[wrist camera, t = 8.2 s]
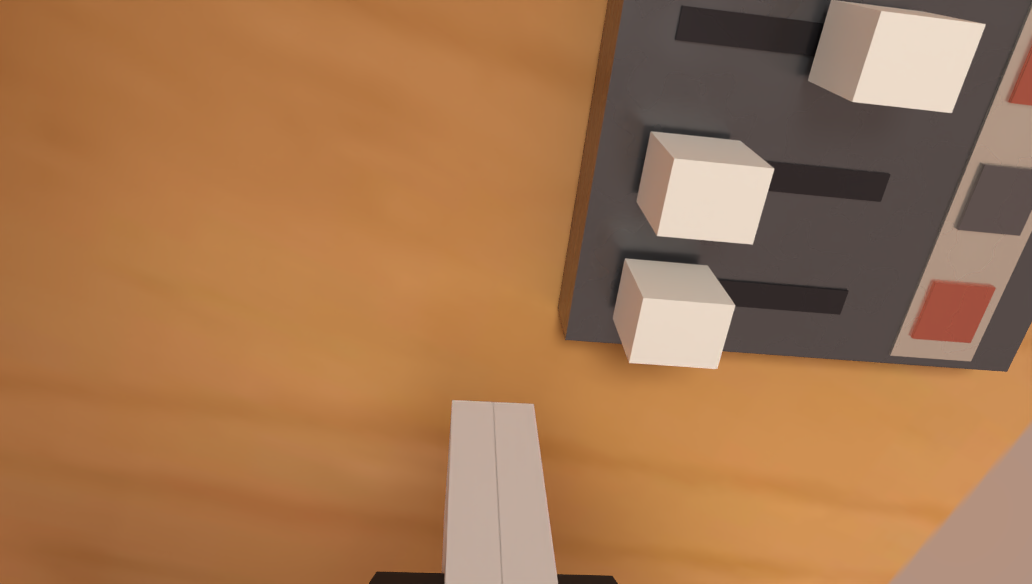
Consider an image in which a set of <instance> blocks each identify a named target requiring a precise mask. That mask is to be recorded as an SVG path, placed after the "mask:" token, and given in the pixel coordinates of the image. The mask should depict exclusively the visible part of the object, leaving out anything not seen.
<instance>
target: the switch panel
mask: <svg viewBox="0 0 1032 584" xmlns="http://www.w3.org/2000/svg"><path fill="white" fill-rule="evenodd" d="M837 1H845V2H853V3H861V4H869V5H876V6H884V7H892V8H900V9H908V10H915V11H923V12H928V13H933V14H938V15H943V16H948V17H953V18H958V19H963V20H968V21H973V22H977V23H982V24H986V25H985V28H984V31H983V33H982V36H981V38H980V41H979V44H978V46H977V49H976V51H975V54H974V57H973V59H972V62H971V64H970V67H969V70H968V72H967V75H966V77H965V80H964V83H963V85H962V88H961V90H960V93H959V96H958V98H957V101H956V104H955V106H954V109H953V111H952V113H946V112H938V111H929V110H920V109H911V108H902V107H893V106H884V105H875V104H866V103H857V102H851V101H849V100H847V99H845V98H843V97H841V96H839V95H837V94H835V93H832V92H830V91H828V90H826V89H824V88H822V87H820V86H818V85H816V84H814V83H811V82H809V81H808V78H809V74H810V71H811V68H812V64H813V61H814V57H815V54H816V50H817V47H818V43H819V40H820V37H821V33H822V30H823V26H824V23H825V19H826V16H827V12H828V9H829V6H830V2H831V0H608V4H607V10H606V16H605V23H604V29H603V35H602V41H601V47H600V53H599V59H598V65H597V72H596V78H595V84H594V90H593V96H592V102H591V108H590V114H589V121H588V127H587V133H586V139H585V145H584V151H583V157H582V163H581V170H580V176H579V182H578V188H577V194H576V200H575V206H574V212H573V218H572V225H571V231H570V237H569V243H568V249H567V255H566V261H565V267H564V274H563V280H562V286H561V292H560V298H559V304H558V311H559V315H560V319H561V324H562V328H563V332H564V336H565V340H575V341H589V342H603V343H617V344H622V342H621V340H620V337H619V334H618V331H617V329H616V326H615V323H614V321H613V314H614V309H615V304H616V299H617V295H618V290H619V285H620V280H621V275H622V270H623V265H624V260H625V258H627V259H638V260H650V261H662V262H674V263H685V264H697V265H708V267H709V268H710V269H711V271H712V272H713V274H714V275H715V277H716V278H717V280H718V281H719V282H720V284H721V285H722V287H723V288H724V290H725V291H726V292H727V294H728V295H729V297H730V298H731V300H732V301H733V303H734V304H735V309H734V312H733V316H732V319H731V323H730V326H729V330H728V333H727V337H726V340H725V344H724V347H723V351H728V352H742V353H755V354H769V355H783V356H797V357H811V358H825V359H839V360H853V361H866V362H880V363H894V364H908V365H922V366H936V367H950V368H964V369H977V370H991V371H1005V372H1007V371H1008V369H1009V367H1010V365H1011V363H1012V361H1013V358H1014V356H1015V354H1016V352H1017V350H1018V348H1019V346H1020V344H1021V342H1022V340H1023V338H1024V336H1025V334H1026V332H1027V330H1028V328H1029V326H1030V324H1031V322H1032V0H837ZM651 131H653V132H663V133H672V134H682V135H691V136H701V137H710V138H720V139H730V140H739V141H741V142H742V143H744V144H745V145H746V146H747V147H749V148H750V149H751V150H752V151H753V152H755V153H756V154H757V155H758V156H760V157H761V158H762V159H763V160H765V161H766V162H767V163H768V164H769V165H771V166H772V167H773V168H774V172H773V175H772V179H771V182H770V186H769V189H768V193H767V196H766V200H765V203H764V207H763V210H762V214H761V217H760V221H759V224H758V228H757V231H756V235H755V238H754V242H753V245H752V244H741V243H730V242H719V241H707V240H696V239H685V238H674V237H662V236H657V235H656V233H655V232H654V230H653V228H652V227H651V225H650V223H649V222H648V220H647V218H646V217H645V215H644V214H643V212H642V210H641V209H640V207H639V205H638V204H637V202H636V201H637V196H638V191H639V186H640V181H641V176H642V171H643V166H644V161H645V156H646V152H647V147H648V142H649V137H650V132H651Z"/></svg>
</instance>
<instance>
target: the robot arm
mask: <svg viewBox="0 0 1032 584" xmlns="http://www.w3.org/2000/svg"><path fill="white" fill-rule="evenodd" d="M369 584H618V583H617V582H616V580H615V579H614V578H613V576H601V575H563V574H557V571H556V564H555V557H554V549H553V542H552V535H551V527H550V520H549V513H548V505H547V498H546V491H545V483H544V476H543V468H542V461H541V454H540V446H539V439H538V432H537V424H536V417H535V410H534V404H524V403H503V402H482V401H461V400H452V411H451V425H450V440H449V454H448V468H447V483H446V497H445V511H444V532H443V555H442V573H408V572H376V574H375V575H374V577H373V578H372V580H371V581H370V582H369Z"/></svg>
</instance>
